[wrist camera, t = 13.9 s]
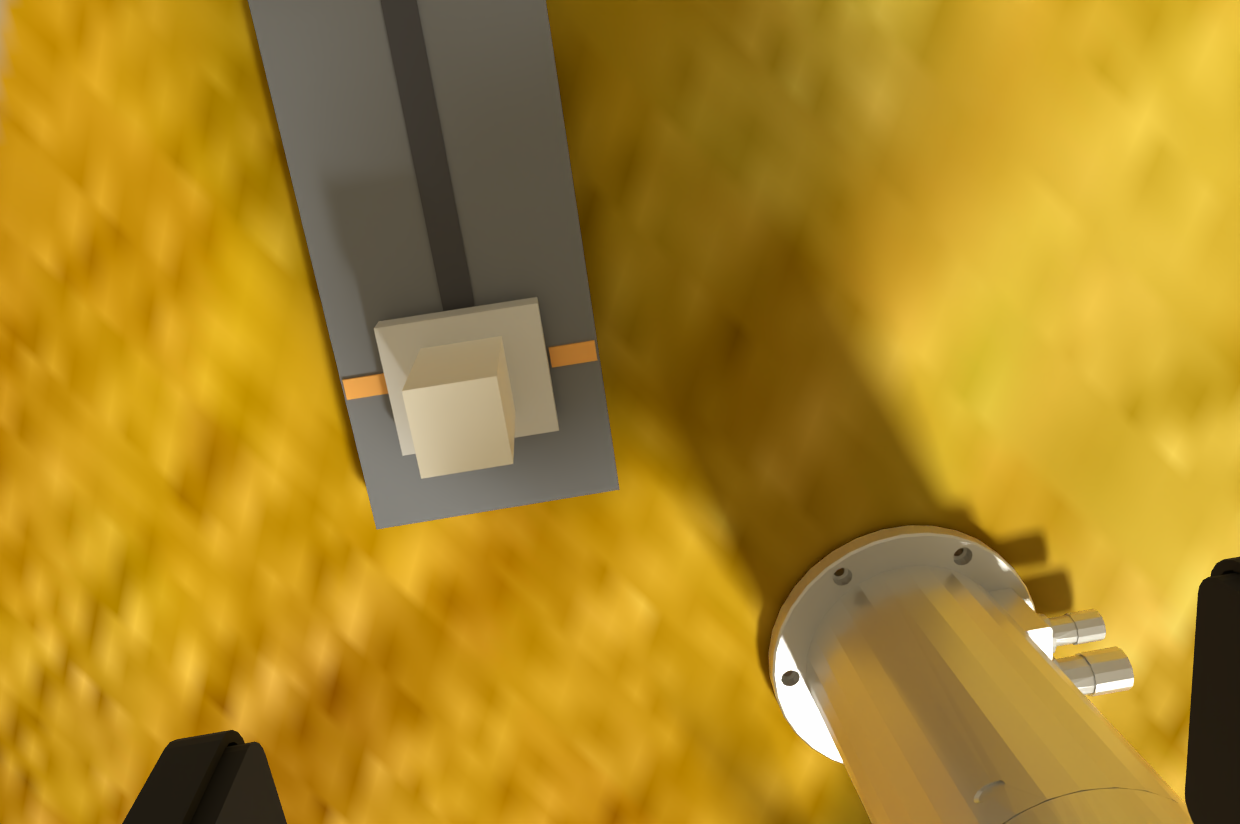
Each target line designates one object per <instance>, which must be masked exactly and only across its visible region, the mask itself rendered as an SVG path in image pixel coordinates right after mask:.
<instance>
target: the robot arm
mask: <svg viewBox="0 0 1240 824" xmlns="http://www.w3.org/2000/svg"><path fill="white" fill-rule="evenodd" d="M840 568H841V569H840ZM838 569H840V570H839V571H837V570H838ZM836 571H837V572H836ZM1105 634H1106V630H1105V624H1104V621H1103V619H1102V617H1101V615H1100V614H1099V613H1098V611H1096V610H1094V609H1090V610H1084V611H1078V612H1073V613H1067V614H1065V615H1063V616H1058V617H1053V618H1047V616H1046V615H1044V614H1041V613H1038V614H1037V613H1036V612H1035V606H1034V604H1033V601H1032V599H1031V596H1030V594H1029V591H1028V589H1027V587H1026V585H1025V584H1024V582H1023V581H1022V580H1021V578H1020V577H1019V575H1018V574H1017V573H1016V571H1015V570H1014V568H1013V567H1012V566H1011V565H1009V564H1008V563H1007V562H1006V561H1005V560H1004V559H1003V558H1002V557H1001V556H1000V555H999V554H998V553H997V552H996V551H994V550H993V549H991V548H990V547H989V546H987V545H986V544H984V543H983V542H981V541H980V540H978V539H976V538H974V537H971V536H969V535H966V534H964V533H962V532H959V531H957V530H952V529H947V528H942V527H937V526H919V525H906V526H900V527H894V528H888V529H882V530H879V531H876V532H873V533H870V534H867V535H865V536H862V537H859V538H856V539H854V540H852V541H850V542H849V543H847V544H845V545H843V546H841V547H839V548H838V549H836V550H834V551H832V552H831V553H830V554H828V555H827V556H826V557H825V558H823V559H822V560H821V561H819V562H818V563H817V564H816V565H814V566H813V567H812V568H811V569H810V570H809V571H808V572H807V573H806V574H805V576H804V577H803V578H802V579H801V580H800V581H799V582H798V583H797V584H796V586H795V587H794V588H793V590H792V591H791V593H790V594H789V596H788V598H787V599H786V601H785V602H784V604H783V606H782V607H781V609H780V612H779V614H778V617H777V620H776V622H775V625H774V627H773V630H772V635H771V641H770V647H769V653H768V656H769V676H770V680H771V683H772V687H773V690H774V694H775V697H776V699H777V702H778V704H779V706H780V708H781V710H782V713H783V715H784V717H785V719H786V720H787V721H788V723H789V724H790V726H791V727H792V729H793V730H794V731H795V733H796V734H797V735H798V736H799V737H800V738H801V739H802V740H804V741H805V742H806V743H807V744H808V745H809V746H810V747H811V748H812V749H814V750H816V751H818V752H819V753H821V754H823V755H824V756H826V757H828V758H830V759H831V760H834V761H837V762H839V763H842V764H844V766H845V768H846V770H847V772H848V774H849V777H850V779H851V781H852V783H853V785H854V787H855V789H856V791H857V793H858V796H859V798H860V800H861V802H862V804H863V806H864V808H865V810H866V812H867V815H868V817H869V819H870V821H871V823H872V824H1240V557H1236V558H1230V559H1224V560H1222V561H1220V562H1218V563H1217V564H1216V565H1215V567H1214V568H1213V570H1212V572H1211V576H1210V577H1208V578H1206V579H1204V580H1203V581H1202V583H1201V584H1200V586H1199V591H1198V602H1197V617H1196V632H1195V647H1194V663H1193V678H1192V693H1191V708H1190V723H1189V739H1188V754H1187V769H1186V784H1185V801H1186V804H1185V802H1184V801H1183V800H1182V799H1181V798H1180V797H1179V796H1178V795H1177V794H1176V793H1175V792H1174V791H1173V790H1172V789H1171V787H1170V786H1169V785H1168V784H1167V783H1166V782H1165V781H1164V780H1163V779H1162V778H1161V777H1160V776H1159V775H1158V774H1157V772H1156V771H1155V770H1154V769H1153V768H1152V767H1151V766H1150V765H1149V764H1148V763H1147V762H1146V761H1145V760H1144V759H1143V757H1142V756H1141V755H1140V754H1139V753H1138V752H1137V751H1136V750H1135V749H1134V748H1133V747H1132V746H1131V745H1130V744H1129V742H1128V741H1127V740H1126V739H1125V738H1124V737H1123V736H1122V735H1121V734H1120V733H1119V732H1118V731H1117V730H1116V729H1115V727H1114V726H1113V725H1112V724H1111V723H1110V722H1109V721H1108V720H1107V719H1106V718H1105V717H1104V716H1103V715H1102V714H1101V712H1100V711H1099V710H1098V709H1097V708H1096V707H1095V706H1094V705H1093V704H1092V703H1091V702H1090V701H1089V700H1088V699H1087V697H1086V696H1085V695H1089V696H1097V695H1102V694H1108V693H1114V692H1119V691H1125V690H1129V689H1130V688H1131V687H1132V686H1133V681H1134V675H1133V670H1132V666H1131V664H1130V662H1129V659H1128V657H1127V656H1126V655H1125V653H1124V652H1123V651H1122V650H1121V649H1119V648H1118V647H1111V648H1105V649H1100V650H1094V651H1088V652H1083V653H1078V654H1076V655H1075V656H1071V657H1065V658H1060V659H1055V658H1054V657H1053V656H1052V653H1054V652H1055V649H1056V646H1062V645H1068V644H1074V645H1076V644H1082V643H1088V642H1094V641H1099V640H1102V639H1104V638H1105ZM122 824H287V822H286V819H285V816H284V813H283V810H282V806H281V803H280V800H279V797H278V794H277V790H276V787H275V784H274V781H273V778H272V774H271V771H270V768H269V765H268V762H267V758H266V755H265V753H264V750H263V748H262V747H261V745H260V744H259V743H257V742H251V743H244V740H243V738H242V737H241V736H240V734H239V733H238V732H236V731H234V730H229V731H223V732H217V733H212V734H206V735H200V736H194V737H188V738H183V739H177V740H174V741H172V742H170V743H169V744H168V745H167V747H166V748H165V749H164V751H163V753H162V754H161V756H160V758H159V760H158V761H157V763H156V765H155V767H154V768H153V770H152V772H151V774H150V776H149V777H148V779H147V781H146V783H145V784H144V786H143V788H142V790H141V792H140V793H139V795H138V797H137V799H136V800H135V802H134V804H133V806H132V807H131V809H130V811H129V813H128V815H127V816H126V818H125V820H124V822H123V823H122Z"/></svg>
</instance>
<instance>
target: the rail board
mask: <svg viewBox="0 0 1240 824" xmlns="http://www.w3.org/2000/svg"><path fill="white" fill-rule="evenodd" d="M248 3H249V7H250V11H251V15H252V19H253V23H254V28H255V32H256V36H257V40H258V44H259V48H260V52H261V56H262V60H263V65H264V69H265V73H266V77H267V81H268V85H269V89H270V93H271V97H272V102H273V106H274V110H275V114H276V118H277V122H278V126H279V130H280V134H281V138H282V143H283V147H284V151H285V155H286V159H287V163H288V167H289V171H290V175H291V180H292V184H293V188H294V192H295V196H296V200H297V204H298V208H299V212H300V216H301V221H302V225H303V229H304V233H305V237H306V241H307V245H308V249H309V253H310V258H311V262H312V266H313V270H314V274H315V278H316V282H317V286H318V290H319V294H320V299H321V303H322V307H323V311H324V315H325V319H326V323H327V327H328V331H329V336H330V340H331V344H332V348H333V352H334V356H335V360H336V364H337V368H338V372H339V377H340V381H341V385H342V389H343V393H344V397H345V401H346V405H347V409H348V414H349V418H350V422H351V426H352V430H353V434H354V438H355V442H356V446H357V450H358V455H359V459H360V463H361V467H362V471H363V475H364V479H365V483H366V487H367V492H368V496H369V500H370V504H371V508H372V512H373V516H374V520H375V524H376V529H381V528H387V527H394V526H400V525H406V524H412V523H418V522H424V521H430V520H436V519H442V518H448V517H454V516H461V515H467V514H473V513H479V512H485V511H491V510H497V509H503V508H509V507H515V506H522V505H528V504H534V503H540V502H546V501H552V500H558V499H564V498H570V497H576V496H583V495H589V494H595V493H601V492H607V491H613V490H619V484H618V477H617V470H616V464H615V457H614V450H613V444H612V437H611V430H610V424H609V417H608V410H607V404H606V397H605V391H604V384H603V377H602V371H601V364H600V357H599V351H598V344H597V337H596V331H595V324H594V317H593V311H592V304H591V297H590V291H589V284H588V278H587V271H586V264H585V258H584V251H583V244H582V238H581V231H580V224H579V218H578V211H577V204H576V198H575V191H574V184H573V178H572V171H571V164H570V158H569V151H568V145H567V138H566V131H565V125H564V118H563V111H562V105H561V98H560V91H559V85H558V78H557V71H556V65H555V58H554V51H553V45H552V38H551V32H550V25H549V18H548V12H547V5H546V0H248ZM533 297H537V299H538V305H539V311H540V317H541V322H542V328H543V334H544V340H545V346H546V352H547V358H548V364H549V370H550V376H551V382H552V388H553V394H554V400H555V405H556V411H557V417H558V426H559V431H554V432H547V433H541V434H535V435H529V436H522V437H516V438H514V458H513V464H509V465H503V466H497V467H491V468H485V469H479V470H472V471H466V472H460V473H454V474H448V475H442V476H435V477H429V478H423V479H421V476H420V471H419V467H418V462H417V458H416V454H411V455H404V456H403V455H402V451H401V446H400V442H399V438H398V433H397V429H396V424H395V420H394V416H393V411H392V407H391V403H390V398H389V394H388V389H387V385H386V381H385V376H384V372H383V367H382V363H381V359H380V354H379V350H378V345H377V341H376V337H375V332H374V327H375V326H376V324H377V323H378V322H379V321H384V320H391V319H397V318H404V317H410V316H416V315H423V314H429V313H436V312H442V311H449V310H455V309H462V308H468V307H475V306H481V305H488V304H494V303H500V302H507V301H513V300H520V299H526V298H533Z"/></svg>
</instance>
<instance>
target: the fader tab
mask: <svg viewBox="0 0 1240 824" xmlns="http://www.w3.org/2000/svg"><path fill="white" fill-rule="evenodd" d="M374 332H375V337H376V341H377V345H378V350H379V354H380V359H381V363H382V367H383V372H384V376H385V381H386V385H387V389H388V394H389V398H390V403H391V407H392V411H393V416H394V420H395V424H396V429H397V433H398V438H399V442H400V446H401V451H402V455H403V456H404V455H411V454H416V458H417V462H418V467H419V471H420V476H421V479H423V478H429V477H435V476H442V475H448V474H454V473H460V472H466V471H472V470H479V469H485V468H491V467H497V466H503V465H509V464H513V458H514V438H516V437H522V436H529V435H535V434H541V433H547V432H554V431H559V426H558V417H557V411H556V405H555V400H554V394H553V388H552V382H551V376H550V370H549V364H548V358H547V352H546V346H545V340H544V334H543V328H542V322H541V317H540V311H539V305H538V299H537V297H533V298H526V299H520V300H513V301H507V302H500V303H494V304H488V305H481V306H475V307H468V308H462V309H455V310H449V311H442V312H436V313H429V314H423V315H416V316H410V317H404V318H397V319H391V320H384V321H379V322H378V323H377V324H376V326H375V327H374Z"/></svg>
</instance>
